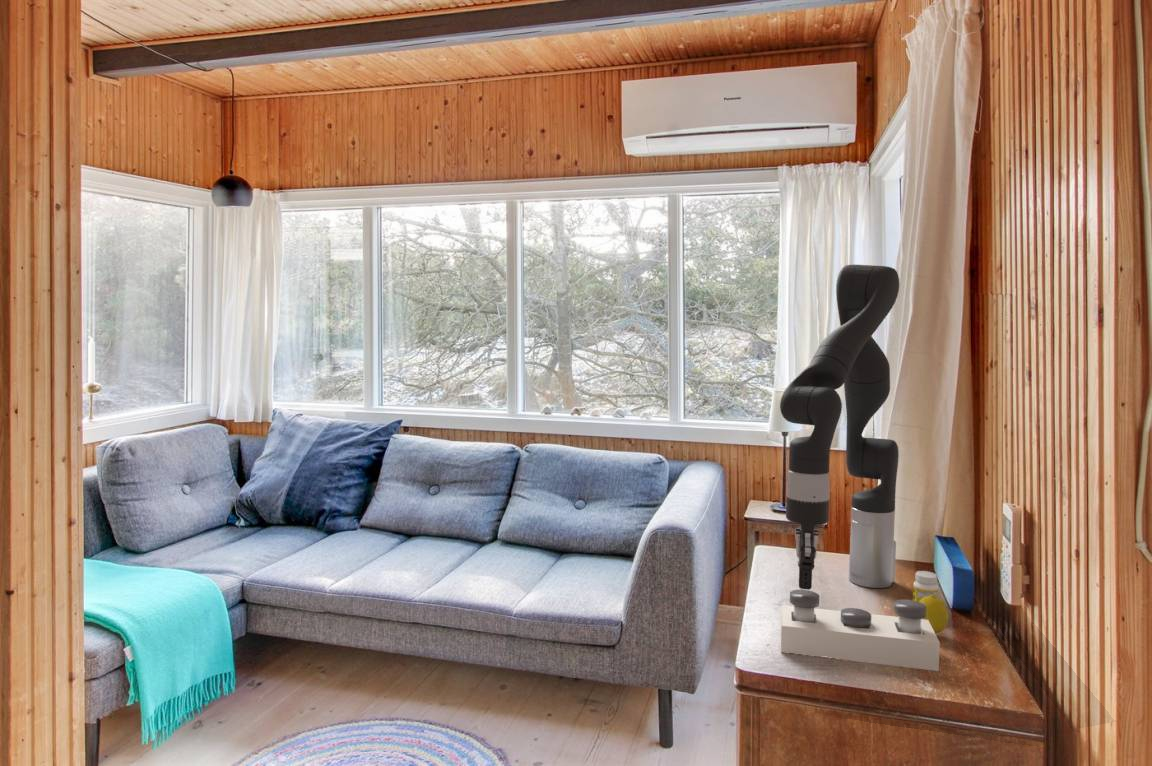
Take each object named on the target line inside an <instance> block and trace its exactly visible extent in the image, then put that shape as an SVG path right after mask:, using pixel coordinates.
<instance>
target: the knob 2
mask: <svg viewBox="0 0 1152 766" xmlns="http://www.w3.org/2000/svg"><path fill="white" fill-rule="evenodd" d="M893 611H894V613H895V615H897V616H898V617H899V622H898V632H903V633H912V634H920V628H921V619H922V618H925V617H926V606H925V605H924V604H922V603H920V602H917V601H913V599H912V600H911V599H905V598H904V599H897V600H894V605H893Z"/></svg>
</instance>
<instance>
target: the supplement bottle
mask: <svg viewBox="0 0 1152 766" xmlns="http://www.w3.org/2000/svg"><path fill="white" fill-rule="evenodd" d="M914 579H915V581H914V582H913V585H912V586H913V587H912V600H913V601H917V602H919V601H920V600H921V599H922V598H924V597H926V596H930V595H935V596H936V597H938V598H939V596H940V595H939V593H940V592H939V590H940V587H939V586H940V585H938V575H937V574H936V573H935V572H931V571H927V570H918V571H916V572H915V577H914Z"/></svg>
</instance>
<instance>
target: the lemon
mask: <svg viewBox="0 0 1152 766" xmlns="http://www.w3.org/2000/svg"><path fill="white" fill-rule="evenodd" d="M919 602H920V603H922V604H924V605H925V606H926V617H925V618H922V619H924V620H928V621H929V623H930V624H931V626H932V628H933V630H934V632H935V634H936V635H937V634H940V633H942V632H943V631H944V630H945V629H946V627H947V625H948V624H949V623H948V622H949V612H948V608H947V605H946V604H945V602H944V600H942V599H941V598H940V597H939V596H938V597H936V596H935V595H930V596H926V597H924V598H922V599H921V600H920V601H919Z"/></svg>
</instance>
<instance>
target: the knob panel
mask: <svg viewBox="0 0 1152 766" xmlns="http://www.w3.org/2000/svg"><path fill="white" fill-rule="evenodd" d="M780 610H781V611H780V653H781V652H785V653H784V654H789V653H795V654H794V655H797V654H804V655H803V656H806V655H814V656H827V657H832V658H838V659H837V660H840V659H844V660H843V661H848V660H851V661H850V662H857V661H859V663H866V662H867V663H868V664H874V663H875V664H876V665H884V666H891V667H900V666H901V668H908V669H909V668H910V669H917V670H918V669H919V670H925V671H926V670H927V671H935V672H940V670H939V668H940V653H941V652H940V649H941V643H940V640H939V639H938V636H937V633H936V634H935V632H934V630H933V628H932V626H931V624H930V623H929V621H928V620H924V619H921V628H920V634H912V633H903V632H898V622H899V616H893V615H883V614H872V613H870V614H871V625H870V626H869V627H866V629H865V628H856V627H846V626H845V624H844V623H842V622H841V610H833V609H825V608H824V609H823V608H816V607H815V608H814V623H808V622H799V621H794V605H787V604H785V605H784V604H782V605H781V606H780ZM814 656H813V657H814ZM875 664H874V665H875Z"/></svg>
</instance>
